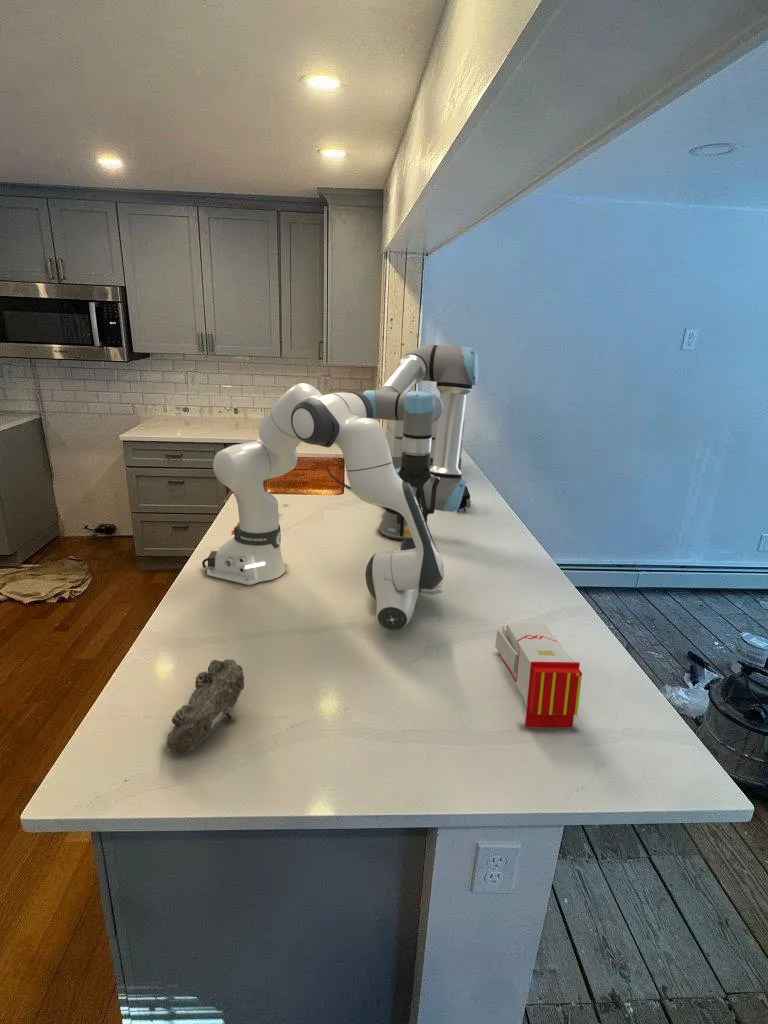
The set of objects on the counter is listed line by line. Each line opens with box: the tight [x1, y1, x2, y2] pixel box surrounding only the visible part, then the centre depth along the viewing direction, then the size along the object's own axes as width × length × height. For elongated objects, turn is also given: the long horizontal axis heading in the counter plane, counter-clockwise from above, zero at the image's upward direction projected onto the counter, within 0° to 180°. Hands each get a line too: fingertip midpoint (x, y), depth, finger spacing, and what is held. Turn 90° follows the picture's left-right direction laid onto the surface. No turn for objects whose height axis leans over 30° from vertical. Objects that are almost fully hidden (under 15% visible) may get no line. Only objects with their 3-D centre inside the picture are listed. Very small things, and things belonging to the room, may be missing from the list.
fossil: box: [166, 658, 245, 754], centre depth 106 cm, size 22×10×15 cm
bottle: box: [399, 537, 416, 551], centre depth 158 cm, size 5×5×18 cm
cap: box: [403, 526, 412, 538], centre depth 155 cm, size 4×4×2 cm
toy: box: [494, 623, 583, 729], centre depth 120 cm, size 12×13×30 cm
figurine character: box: [456, 485, 472, 513], centre depth 228 cm, size 7×8×15 cm
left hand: (409, 566), depth 159 cm, fingers closed on bottle, 5 cm apart
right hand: (410, 535), depth 155 cm, fingers closed on cap, 4 cm apart
